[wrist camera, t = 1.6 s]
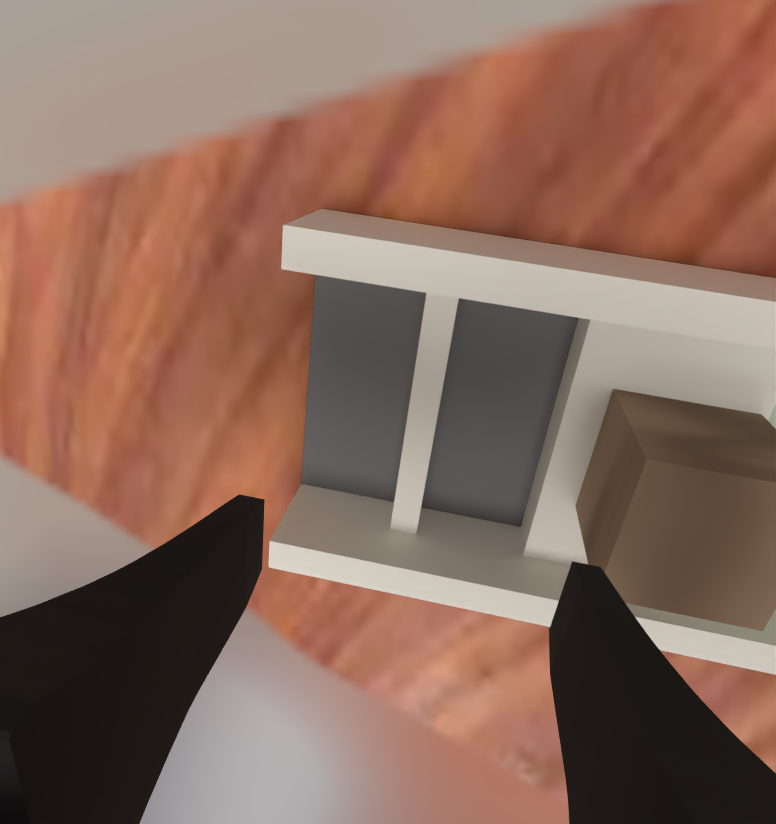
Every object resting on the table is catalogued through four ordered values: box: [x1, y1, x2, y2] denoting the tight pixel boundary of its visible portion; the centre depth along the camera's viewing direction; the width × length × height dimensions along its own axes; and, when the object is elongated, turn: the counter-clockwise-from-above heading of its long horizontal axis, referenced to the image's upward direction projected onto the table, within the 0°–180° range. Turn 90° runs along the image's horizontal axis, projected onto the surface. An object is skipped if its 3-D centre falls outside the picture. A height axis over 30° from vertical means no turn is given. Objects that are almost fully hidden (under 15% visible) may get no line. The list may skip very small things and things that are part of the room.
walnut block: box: [575, 389, 776, 631], centre depth 17 cm, size 4×4×4 cm
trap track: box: [269, 209, 776, 675], centre depth 19 cm, size 22×12×4 cm, turn 83°
